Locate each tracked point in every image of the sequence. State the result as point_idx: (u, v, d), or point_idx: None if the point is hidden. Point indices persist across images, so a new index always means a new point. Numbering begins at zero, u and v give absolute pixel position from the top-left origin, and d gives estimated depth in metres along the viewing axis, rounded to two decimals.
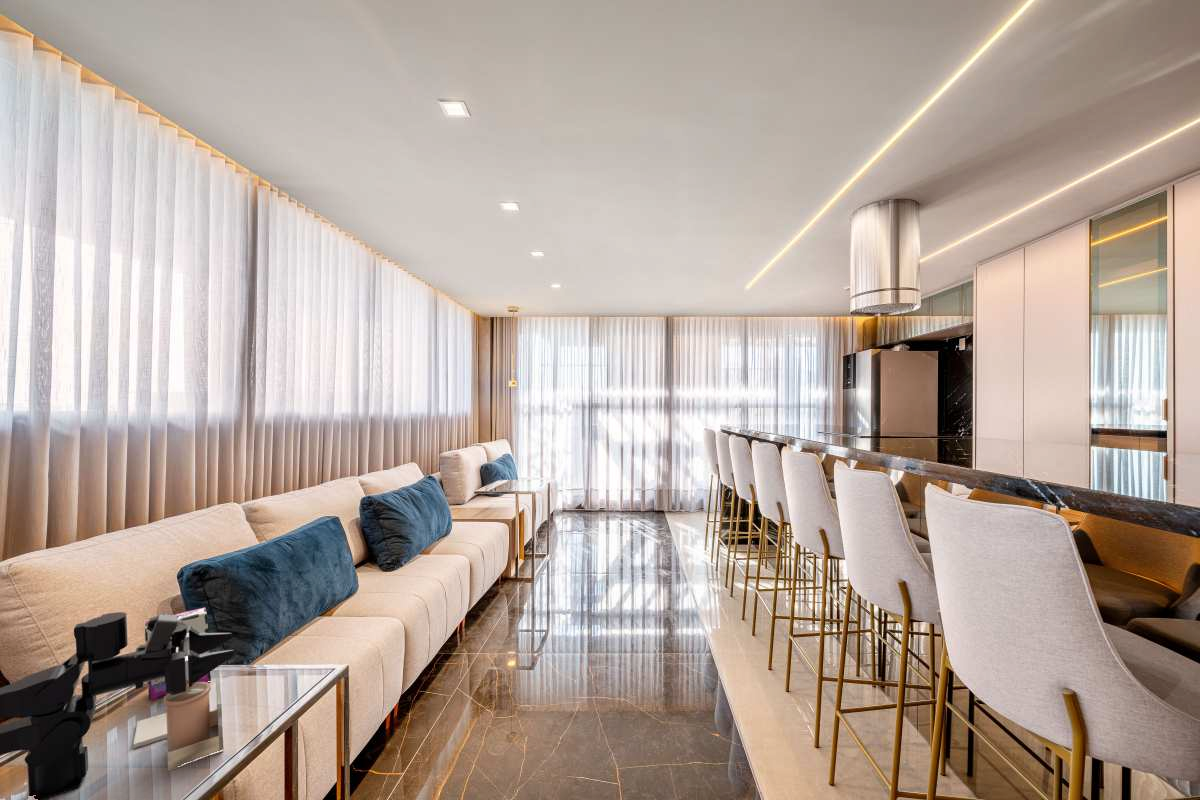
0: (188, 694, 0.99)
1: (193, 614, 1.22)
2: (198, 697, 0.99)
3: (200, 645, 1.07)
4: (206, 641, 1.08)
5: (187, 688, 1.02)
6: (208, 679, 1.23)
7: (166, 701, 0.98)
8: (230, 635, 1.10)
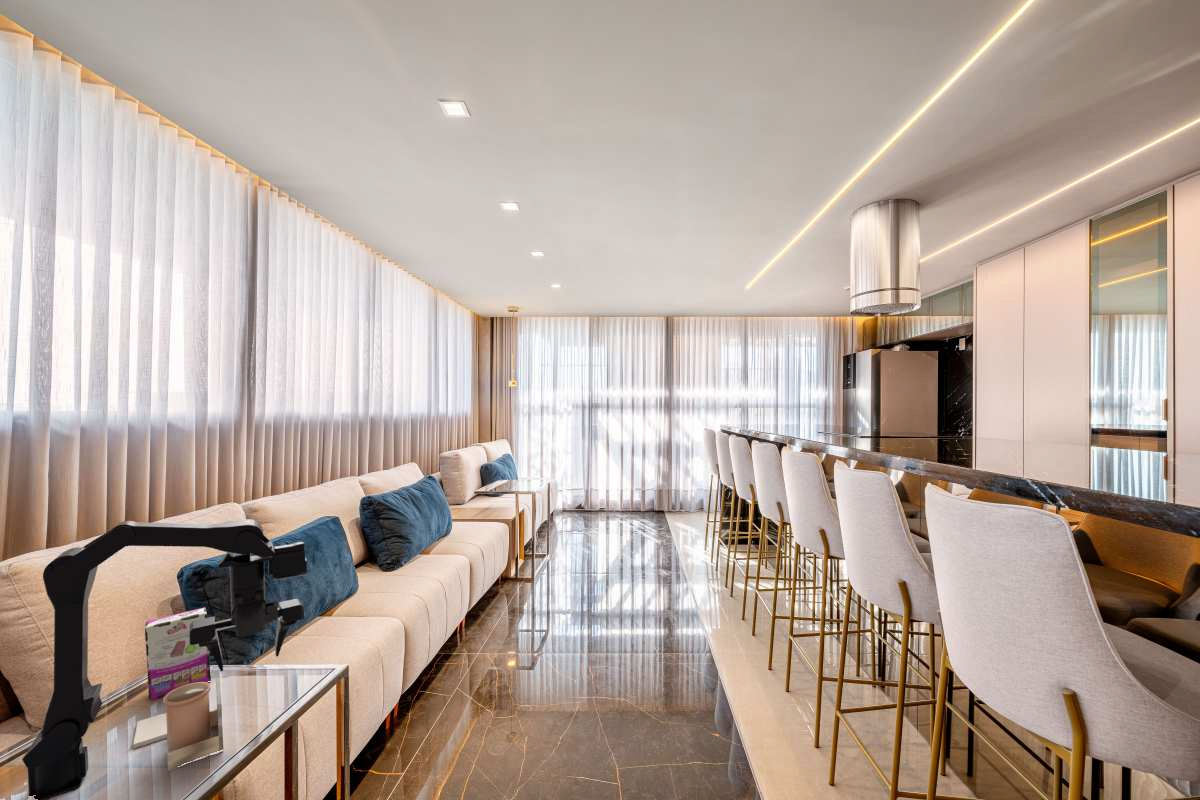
0: (188, 694, 0.99)
1: (193, 614, 1.22)
2: (198, 697, 0.99)
3: (277, 629, 1.10)
4: (277, 635, 1.09)
5: (187, 688, 1.01)
6: (208, 679, 1.23)
7: (166, 701, 0.97)
8: None
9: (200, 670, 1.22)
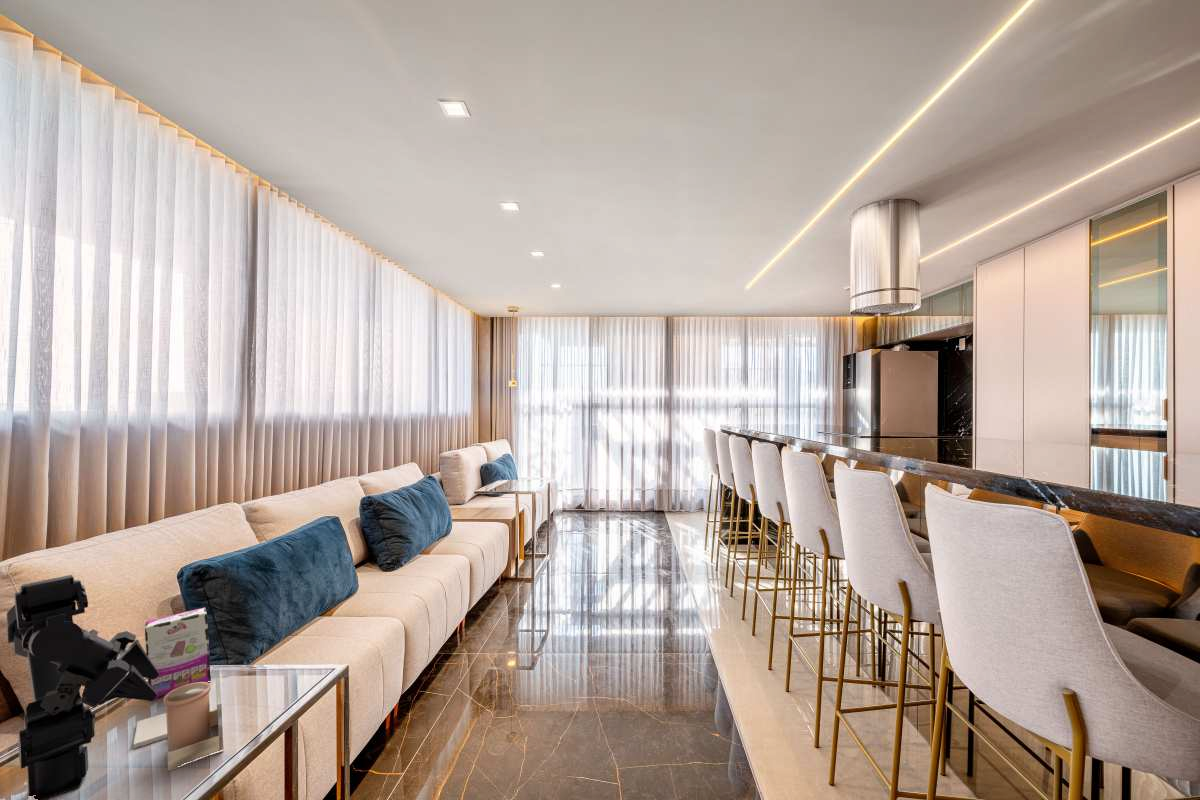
0: (188, 694, 0.99)
1: (193, 614, 1.22)
2: (198, 697, 0.99)
3: None
4: None
5: (187, 688, 1.02)
6: (208, 679, 1.23)
7: (166, 701, 0.98)
8: None
9: (200, 670, 1.22)
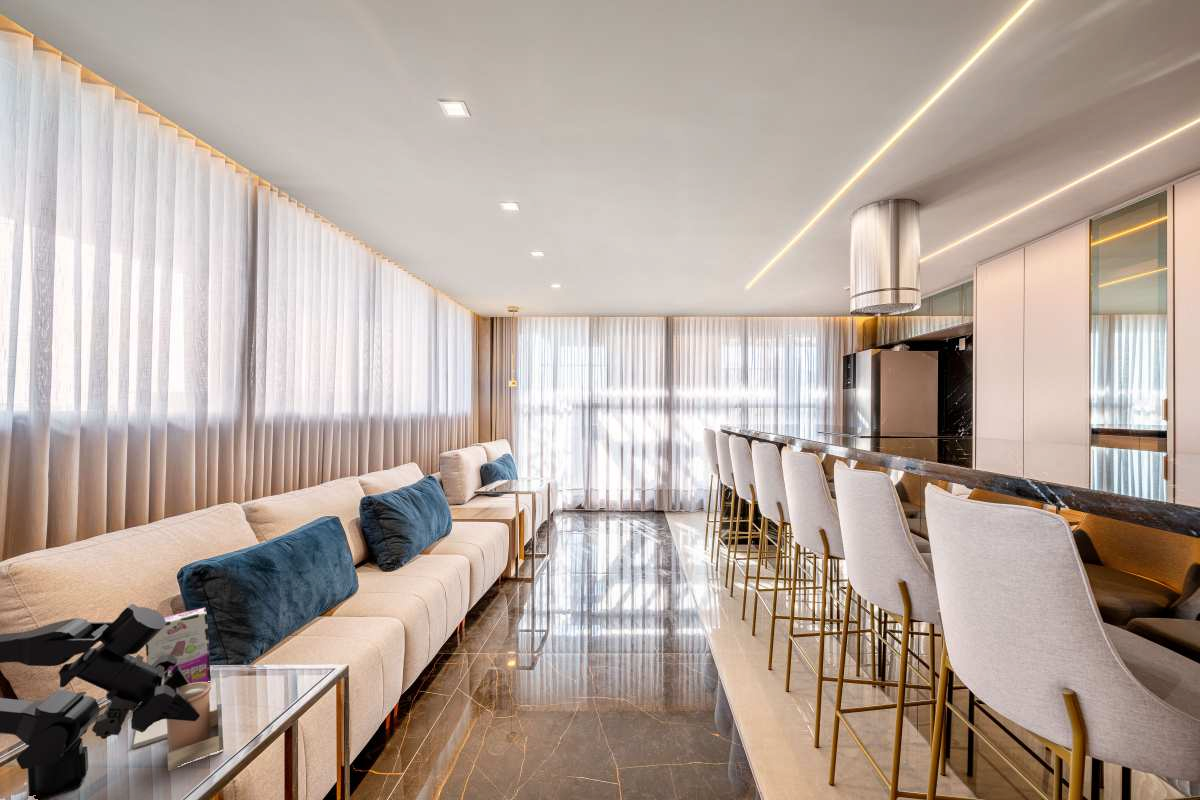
0: (188, 694, 0.99)
1: (193, 614, 1.22)
2: (198, 697, 0.99)
3: None
4: None
5: (187, 688, 1.02)
6: (208, 679, 1.23)
7: None
8: None
9: (200, 670, 1.22)
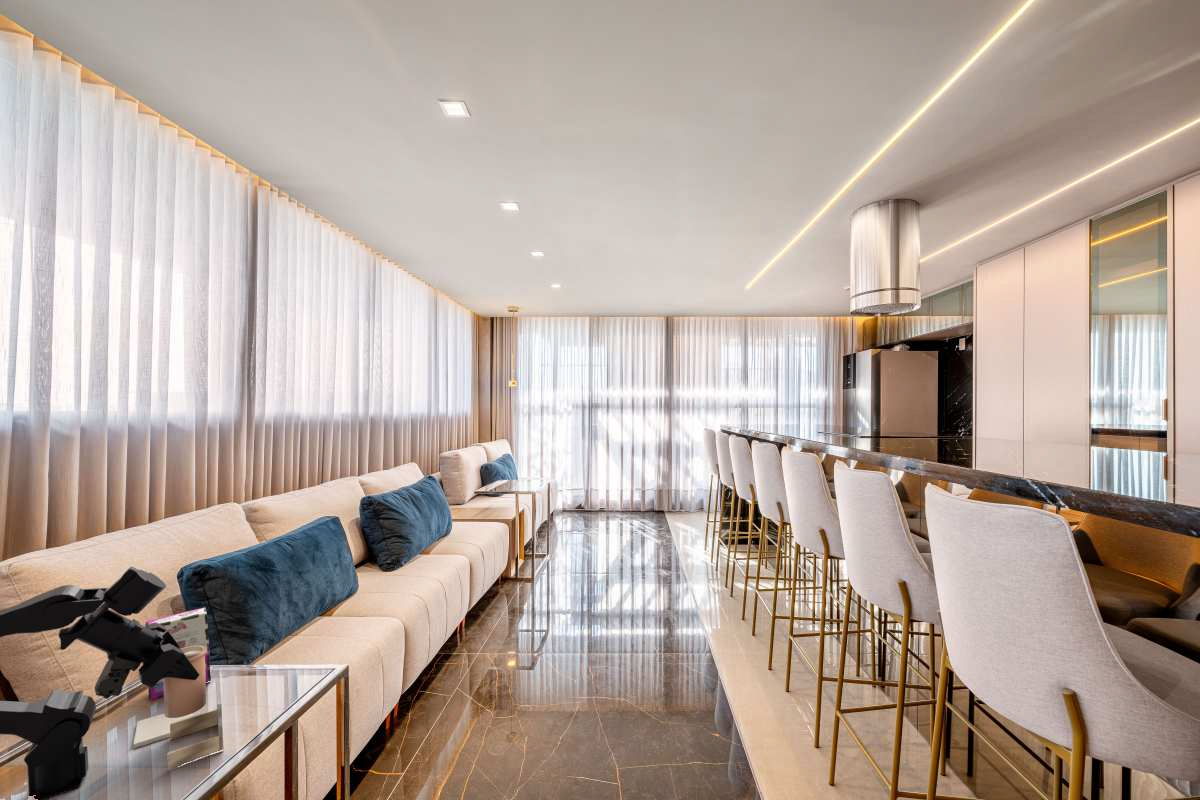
0: (186, 655, 1.02)
1: (193, 614, 1.22)
2: (198, 657, 1.02)
3: None
4: None
5: (182, 651, 1.04)
6: (208, 679, 1.23)
7: None
8: None
9: None
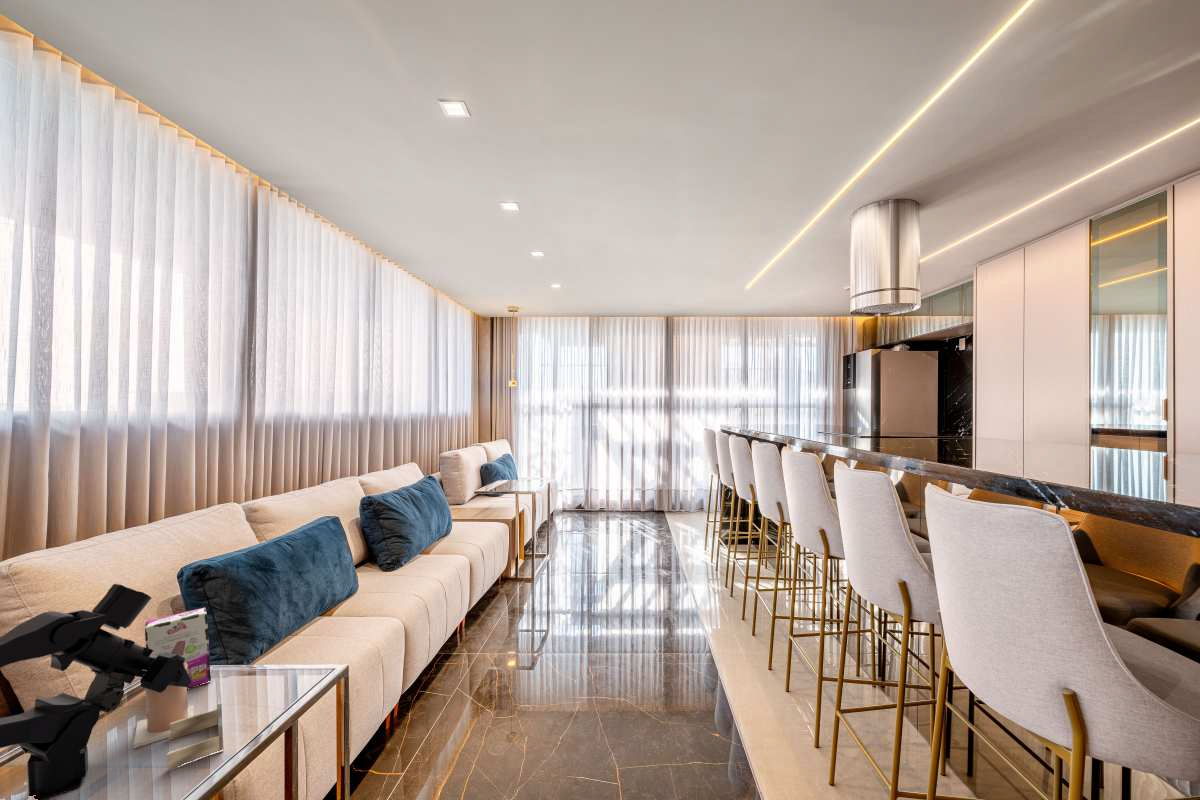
0: None
1: (193, 614, 1.22)
2: None
3: None
4: None
5: None
6: (208, 679, 1.23)
7: None
8: None
9: (200, 670, 1.22)
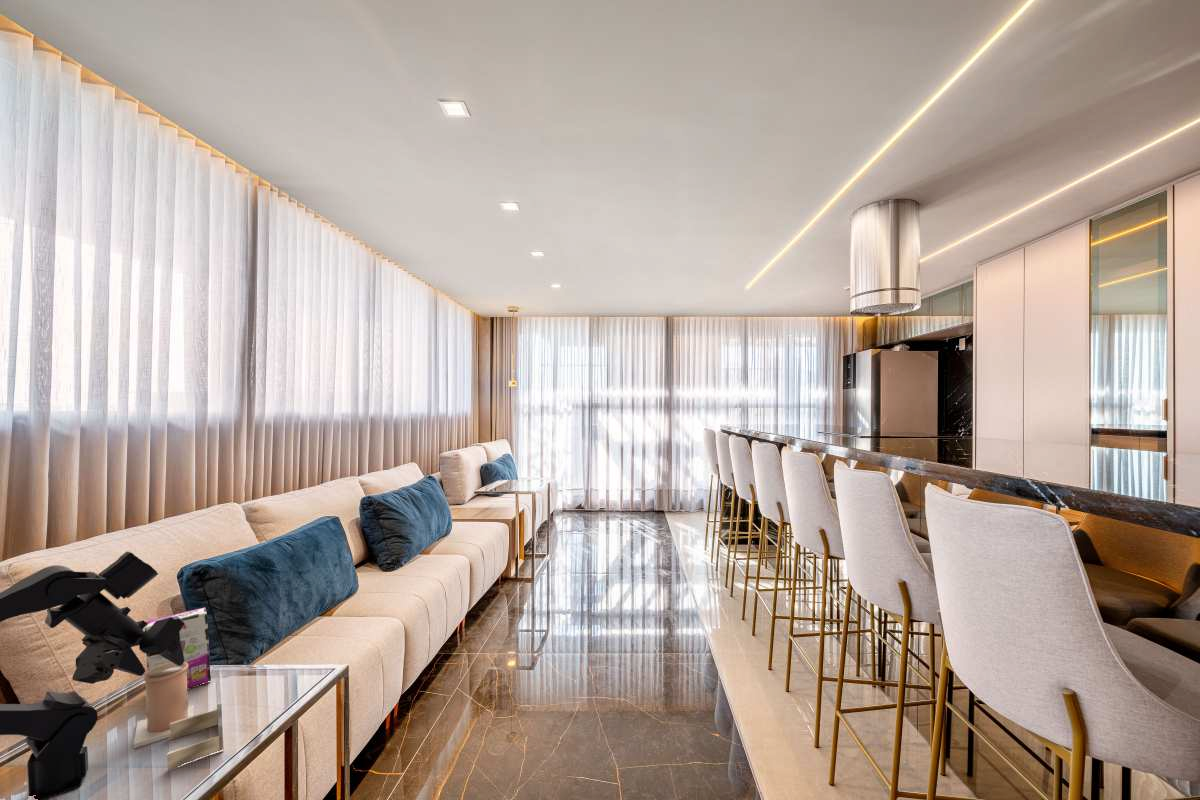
0: (171, 670, 1.07)
1: (193, 614, 1.22)
2: (185, 669, 1.08)
3: None
4: None
5: (161, 668, 1.08)
6: (208, 679, 1.23)
7: (153, 678, 1.04)
8: None
9: (200, 670, 1.22)
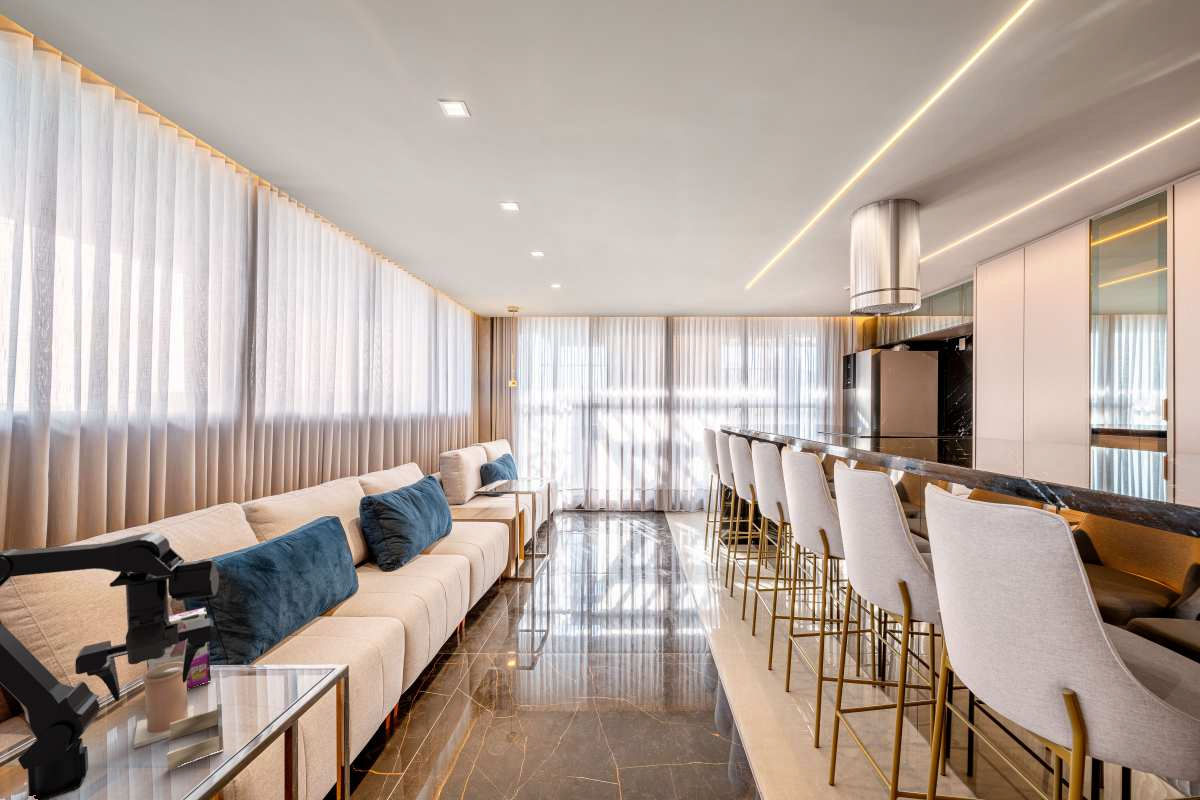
0: (170, 671, 1.07)
1: (193, 614, 1.22)
2: None
3: None
4: (184, 659, 0.99)
5: (161, 669, 1.07)
6: (208, 679, 1.23)
7: (152, 680, 1.04)
8: None
9: (200, 670, 1.22)
